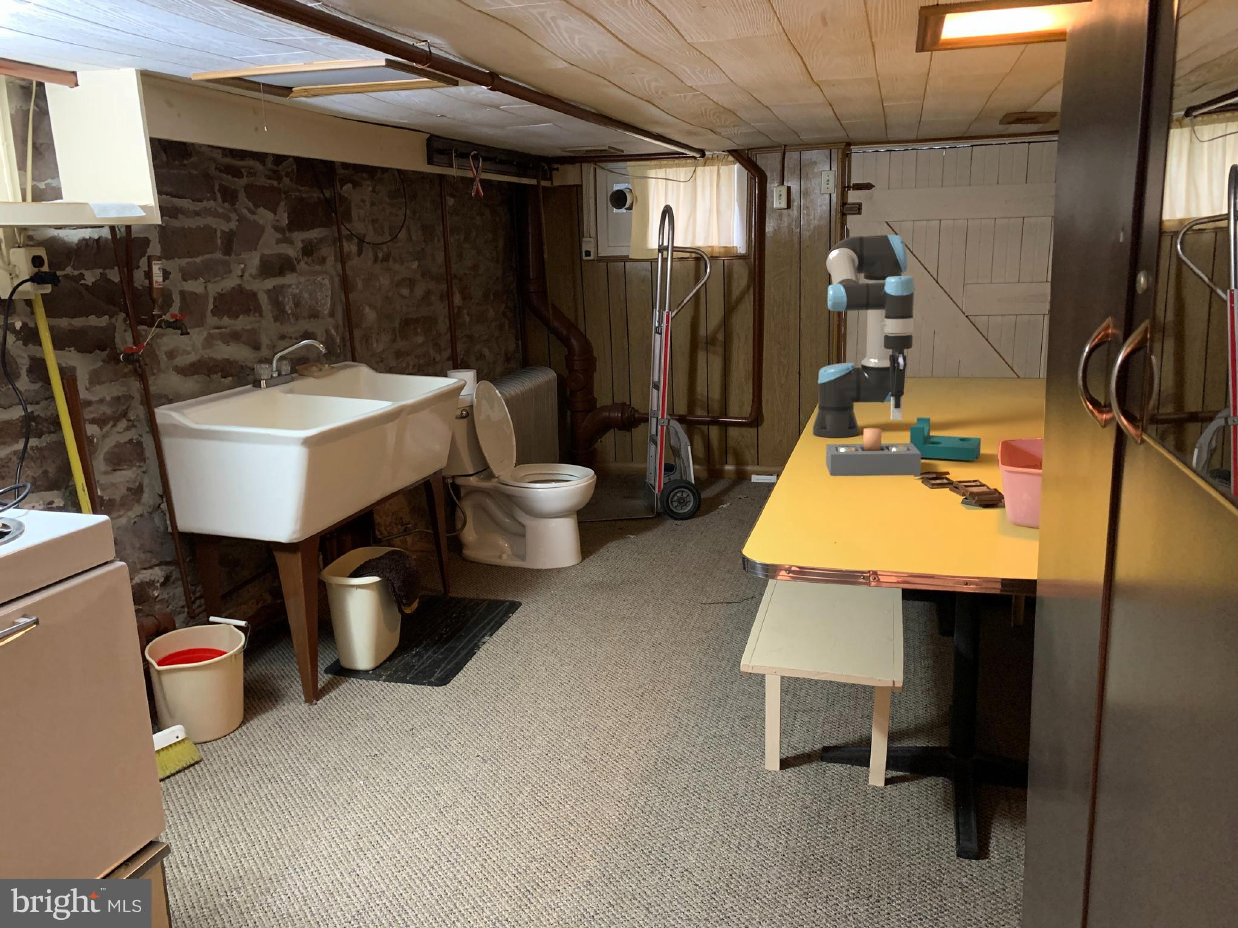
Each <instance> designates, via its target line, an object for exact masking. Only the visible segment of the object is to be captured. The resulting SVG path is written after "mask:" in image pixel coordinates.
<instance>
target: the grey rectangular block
mask: <svg viewBox="0 0 1238 928" xmlns="http://www.w3.org/2000/svg"><path fill="white" fill-rule="evenodd" d="M844 445H848V446H855V451H838V447H839V446H844ZM890 445H905V446H907V451H889V446H890ZM825 446H826V448H825V452H826V453H825V454H826V456H825V457H826V458H825V464H826V468H827V470H828V473H829V475H830V476H832V477H833V476H835V477H836V476H837V477H838V476H839V477H842V476H845V477H846V476H847V477H848V476H854V477H855V476H920V475H921V467H922V466H921V463H922V460H921V459H922V457H921V453H920V452H919V451H918V450H917V448H916V447H915V446H914V445H913V444H912V443H910V442H908V443H907V442H905V443H904V442H903V443H902V442H901V443H900V442H899V443H898V442H897V443H896V442H895V443H890V442H889V443H883V442H881V451H863V443H826V444H825Z"/></svg>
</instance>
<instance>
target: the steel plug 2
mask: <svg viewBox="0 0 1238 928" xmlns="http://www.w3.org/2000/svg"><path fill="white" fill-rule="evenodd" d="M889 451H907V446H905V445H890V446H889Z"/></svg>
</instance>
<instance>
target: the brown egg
mask: <svg viewBox="0 0 1238 928" xmlns="http://www.w3.org/2000/svg"><path fill="white" fill-rule="evenodd" d="M862 439H863V443H862V444H863V451H881V443H882V429H881V428H880V427H879V428H878V427H867V428H866V427H865V428H863V438H862Z"/></svg>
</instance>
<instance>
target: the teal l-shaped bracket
mask: <svg viewBox="0 0 1238 928" xmlns="http://www.w3.org/2000/svg"><path fill="white" fill-rule="evenodd" d="M909 428H910V429H909V431H910V432H909V440H910V441H909V443H912V444H913V445H914V446H915V447H916V448H917V450H918V451H919V452H920V453H921V458H928V459H929V458H931V459H943V460H945V459H947V460H958V461H959V460H960V461H961V460H962V461H976V460H978V459H979V458H980V456H981V445H982V444H981V441H982V440H981V439H982V438H981V437H968V436H953V435H952V436H951V435H950V436H949V435H935V434H934V435H933V434H931V417H922V416H921V417H919V416H917V417H916V425H910V427H909Z"/></svg>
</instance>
